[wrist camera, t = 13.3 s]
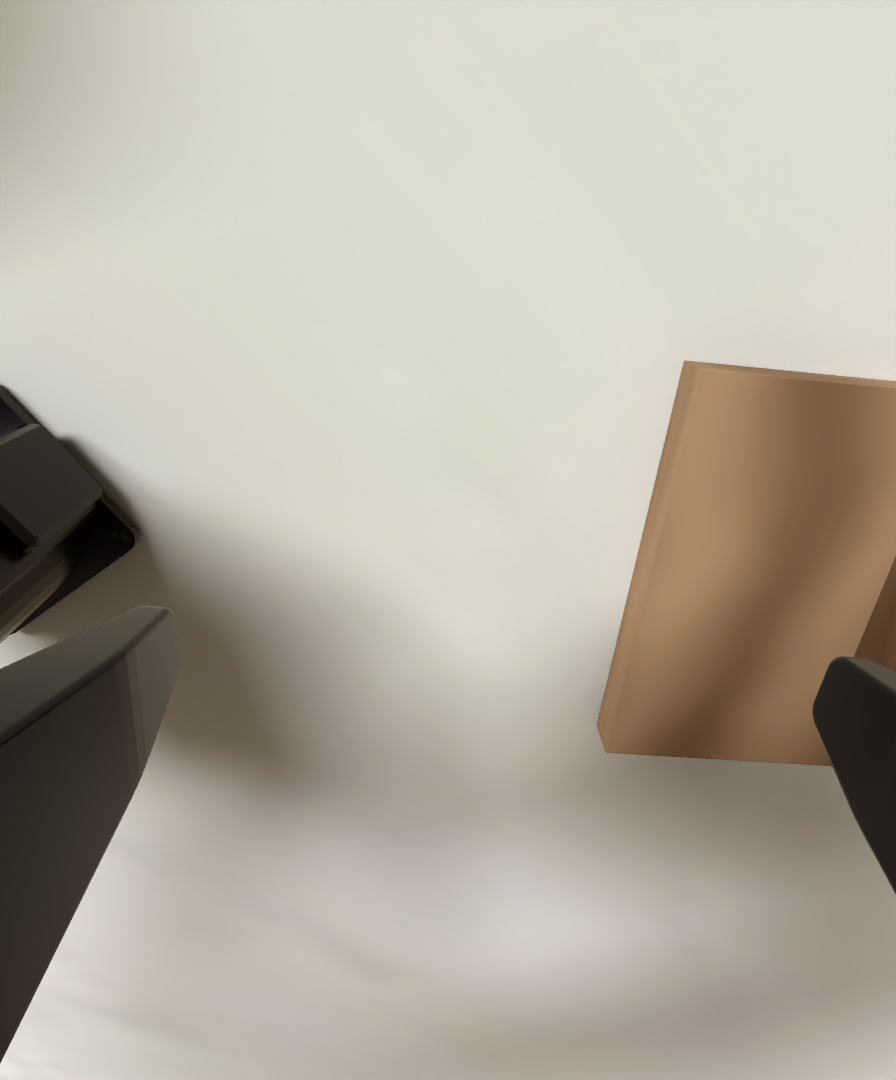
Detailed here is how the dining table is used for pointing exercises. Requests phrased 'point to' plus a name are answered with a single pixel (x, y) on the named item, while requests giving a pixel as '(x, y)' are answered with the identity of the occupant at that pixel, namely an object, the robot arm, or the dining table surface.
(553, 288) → the dining table surface
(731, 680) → the walnut base
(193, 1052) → the dining table surface
